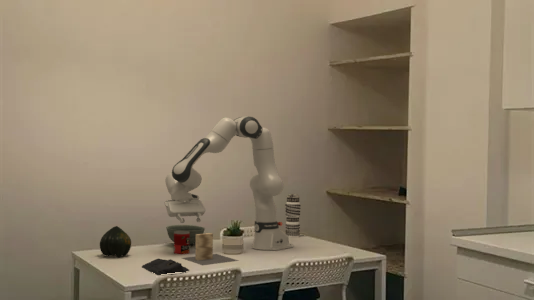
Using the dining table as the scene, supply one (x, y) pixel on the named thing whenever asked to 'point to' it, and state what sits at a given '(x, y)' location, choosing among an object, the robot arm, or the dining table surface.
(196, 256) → the beech tile
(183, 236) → the canned food
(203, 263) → the rubber mat
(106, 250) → the squash
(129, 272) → the dining table surface
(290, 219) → the decorative candle
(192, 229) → the bowl
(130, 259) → the dining table surface
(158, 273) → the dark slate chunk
